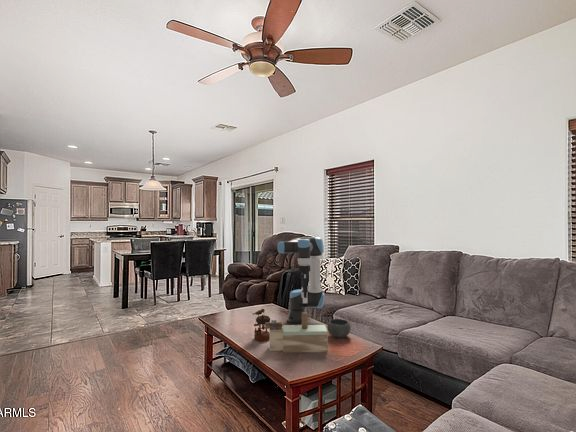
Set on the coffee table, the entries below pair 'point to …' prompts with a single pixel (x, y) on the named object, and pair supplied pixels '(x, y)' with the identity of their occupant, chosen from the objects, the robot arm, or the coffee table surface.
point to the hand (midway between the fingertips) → (304, 300)
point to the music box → (259, 334)
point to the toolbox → (296, 341)
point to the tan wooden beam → (268, 325)
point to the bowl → (338, 328)
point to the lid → (304, 328)
